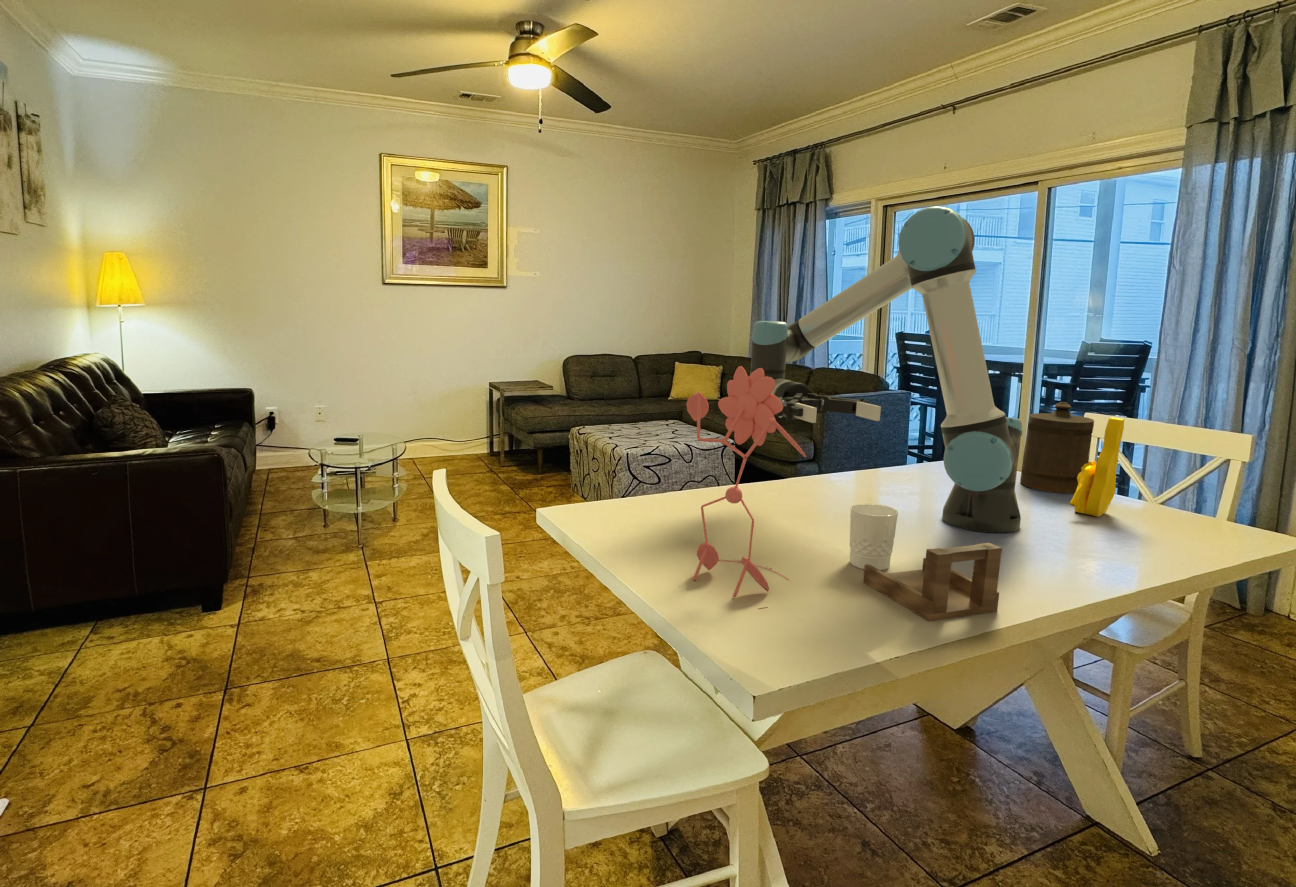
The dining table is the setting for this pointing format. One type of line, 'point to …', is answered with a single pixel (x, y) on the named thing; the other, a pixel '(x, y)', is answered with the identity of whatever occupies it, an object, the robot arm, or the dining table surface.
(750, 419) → the figurine
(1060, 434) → the wooden container
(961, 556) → the brown wooden stand
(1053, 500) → the dining table surface
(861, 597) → the dining table surface
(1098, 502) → the figure statuette
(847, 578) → the dining table surface
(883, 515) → the white cup
